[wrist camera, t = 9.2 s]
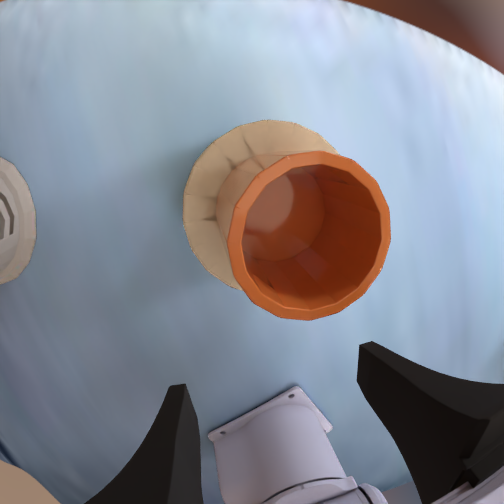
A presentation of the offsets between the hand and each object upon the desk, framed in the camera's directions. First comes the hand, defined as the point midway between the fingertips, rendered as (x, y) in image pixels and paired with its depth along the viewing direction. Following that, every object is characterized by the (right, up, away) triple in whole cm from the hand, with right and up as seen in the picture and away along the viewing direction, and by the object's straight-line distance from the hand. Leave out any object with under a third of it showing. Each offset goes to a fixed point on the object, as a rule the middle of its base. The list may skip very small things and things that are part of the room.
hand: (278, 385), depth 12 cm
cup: (0, +7, +2) cm, 8 cm away
